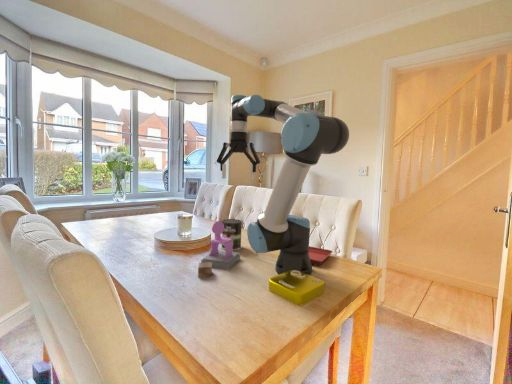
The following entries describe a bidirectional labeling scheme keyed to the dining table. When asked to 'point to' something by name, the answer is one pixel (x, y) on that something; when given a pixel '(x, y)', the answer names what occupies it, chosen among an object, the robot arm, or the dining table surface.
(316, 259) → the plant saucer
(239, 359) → the dining table surface
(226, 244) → the chair
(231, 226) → the coffee can
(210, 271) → the walnut block
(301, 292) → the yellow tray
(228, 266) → the plinth
